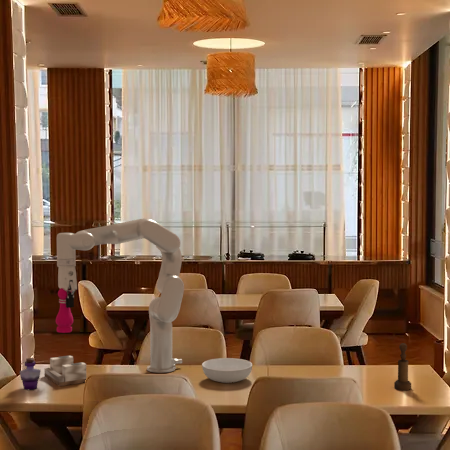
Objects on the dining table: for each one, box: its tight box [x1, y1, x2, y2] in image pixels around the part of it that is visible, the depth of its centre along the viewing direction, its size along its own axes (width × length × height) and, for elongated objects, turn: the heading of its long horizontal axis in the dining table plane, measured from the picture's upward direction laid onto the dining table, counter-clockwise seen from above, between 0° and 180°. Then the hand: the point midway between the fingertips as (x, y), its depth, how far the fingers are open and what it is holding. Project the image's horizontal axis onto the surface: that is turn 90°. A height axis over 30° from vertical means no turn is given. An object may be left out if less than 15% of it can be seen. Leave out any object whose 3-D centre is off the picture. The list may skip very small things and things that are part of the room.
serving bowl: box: [201, 357, 253, 384], centre depth 318 cm, size 21×21×7 cm
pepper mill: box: [55, 288, 74, 334], centre depth 318 cm, size 7×7×20 cm
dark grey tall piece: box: [393, 342, 412, 391], centre depth 304 cm, size 7×6×18 cm
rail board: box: [44, 355, 87, 387], centre depth 319 cm, size 12×18×8 cm, turn 32°
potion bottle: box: [19, 357, 41, 391], centre depth 305 cm, size 9×9×12 cm
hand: (67, 305), depth 318 cm, fingers closed on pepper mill, 5 cm apart
